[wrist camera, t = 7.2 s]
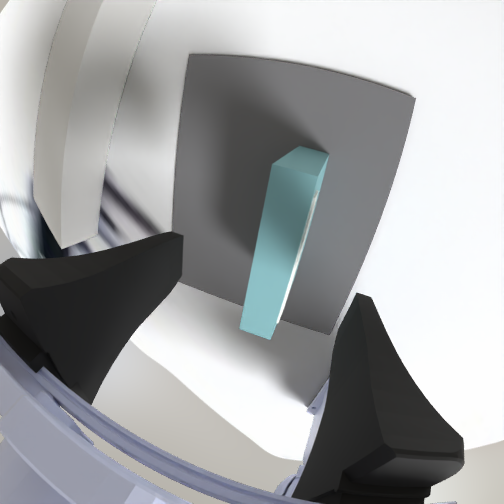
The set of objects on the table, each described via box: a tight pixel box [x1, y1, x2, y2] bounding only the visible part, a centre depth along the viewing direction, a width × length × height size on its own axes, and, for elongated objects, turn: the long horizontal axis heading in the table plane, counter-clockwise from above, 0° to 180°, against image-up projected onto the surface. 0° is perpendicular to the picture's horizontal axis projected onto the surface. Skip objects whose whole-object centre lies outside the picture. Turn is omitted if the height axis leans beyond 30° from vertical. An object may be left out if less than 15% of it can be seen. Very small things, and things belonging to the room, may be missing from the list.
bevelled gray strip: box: [33, 0, 157, 249], centre depth 16 cm, size 34×5×10 cm
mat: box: [173, 55, 416, 335], centre depth 18 cm, size 18×14×1 cm
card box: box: [239, 146, 329, 340], centre depth 15 cm, size 9×2×6 cm, turn 170°
